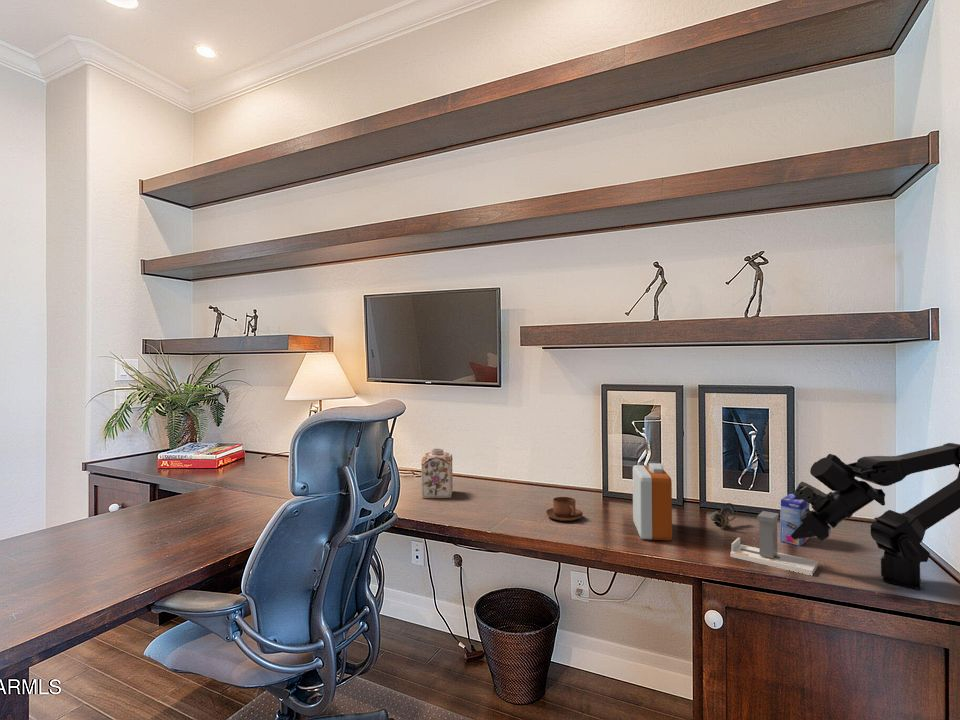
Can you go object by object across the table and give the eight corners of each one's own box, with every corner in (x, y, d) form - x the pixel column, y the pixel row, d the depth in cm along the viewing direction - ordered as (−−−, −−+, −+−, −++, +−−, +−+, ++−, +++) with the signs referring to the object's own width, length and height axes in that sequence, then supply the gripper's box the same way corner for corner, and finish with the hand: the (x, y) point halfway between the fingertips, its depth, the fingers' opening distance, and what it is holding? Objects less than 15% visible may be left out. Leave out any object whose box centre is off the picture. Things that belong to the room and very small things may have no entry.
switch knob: (779, 553, 128) (778, 513, 128) (774, 559, 124) (773, 518, 124) (763, 549, 131) (763, 510, 131) (758, 555, 126) (757, 515, 127)
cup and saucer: (590, 519, 163) (590, 500, 163) (566, 526, 156) (565, 506, 156) (562, 510, 173) (562, 493, 173) (538, 517, 165) (538, 499, 165)
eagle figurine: (744, 528, 149) (740, 514, 157) (729, 507, 149) (726, 494, 158) (719, 539, 152) (717, 524, 161) (704, 518, 153) (703, 505, 161)
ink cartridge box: (802, 547, 137) (801, 494, 137) (779, 542, 141) (778, 491, 141) (810, 538, 144) (810, 488, 144) (788, 533, 148) (788, 485, 148)
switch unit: (817, 565, 123) (817, 553, 124) (812, 575, 118) (811, 562, 118) (739, 548, 136) (739, 536, 136) (730, 556, 130) (730, 544, 130)
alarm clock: (672, 542, 141) (672, 470, 141) (640, 540, 142) (640, 469, 142) (661, 522, 159) (660, 458, 159) (632, 521, 160) (632, 457, 161)
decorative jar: (453, 491, 201) (452, 446, 201) (451, 498, 189) (451, 451, 189) (423, 491, 201) (423, 446, 201) (420, 498, 189) (420, 451, 189)
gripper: (823, 467, 127) (774, 502, 135) (810, 479, 114) (757, 518, 121) (862, 503, 122) (809, 538, 129) (853, 521, 108) (795, 558, 115)
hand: (792, 537), depth 124 cm, fingers closed
